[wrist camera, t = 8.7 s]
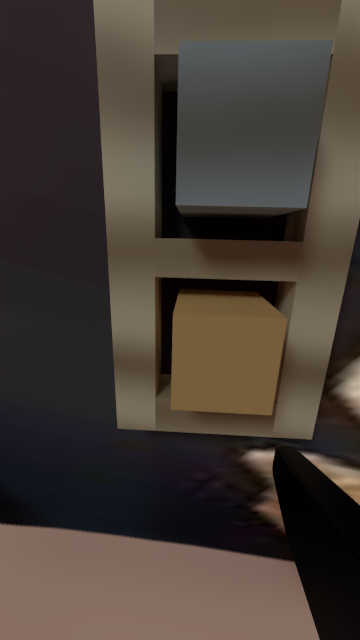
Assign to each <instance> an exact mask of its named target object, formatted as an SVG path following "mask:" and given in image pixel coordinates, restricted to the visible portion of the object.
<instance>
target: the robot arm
mask: <svg viewBox="0 0 360 640" xmlns="http://www.w3.org/2000/svg"><path fill="white" fill-rule="evenodd" d="M272 470H273V477H274V482H275V486H276V491H277V495H278V500H279V504H280V509H281V514H282V518H283V523H284V527H285V531H286V535H287V538H288V542H289V545H290V548H291V551H292V555H293V558H294V561H295V564H296V567H297V570H298V573H299V576H300V579H301V583H302V585H303V588H304V592H305V595H306V598H307V601H308V604H309V607H310V610H311V613H312V616H313V620H314V623H315V626H316V629H317V632H318V635H319V638H320V640H360V505H359V504H358V503H357V502H356V501H354V500H353V499H352V498H351V497H350V496H349V495H348V494H346V493H345V492H344V491H343V490H342V489H341V488H340V487H338V486H337V485H336V484H335V483H334V482H333V481H332V480H331V479H329V478H328V477H327V476H326V475H325V474H324V473H323V472H321V471H320V470H319V469H318V468H317V467H316V466H315V465H314V464H312V463H311V462H310V461H309V460H308V459H307V458H306V457H304V456H303V455H302V454H301V453H300V452H299V451H298V450H296V449H295V448H294V447H293V446H291V445H277V447H276V450H275V456H274V461H273V468H272Z"/></svg>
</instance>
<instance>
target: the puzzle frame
mask: <svg viewBox="0 0 360 640" xmlns="http://www.w3.org/2000/svg"><path fill="white" fill-rule="evenodd" d="M93 1H94V19H95V37H96V54H97V72H98V90H99V107H100V125H101V143H102V161H103V178H104V196H105V214H106V231H107V249H108V267H109V284H110V302H111V320H112V338H113V355H114V373H115V391H116V408H117V426H118V429H135V430H152V431H170V432H188V433H205V434H223V435H241V436H258V437H276V438H294V439H311V440H312V436H313V431H314V426H315V422H316V417H317V413H318V408H319V403H320V399H321V394H322V390H323V385H324V380H325V376H326V371H327V367H328V362H329V357H330V353H331V348H332V344H333V339H334V334H335V330H336V325H337V321H338V316H339V311H340V307H341V302H342V297H343V293H344V288H345V284H346V279H347V274H348V270H349V265H350V261H351V256H352V251H353V247H354V242H355V238H356V233H357V228H358V224H359V219H360V0H93ZM162 92H178V108H177V162H176V207H177V208H178V210H179V212H180V214H181V216H182V217H206V218H250V219H267V218H271V217H274V216H278V215H282V214H286V213H288V214H287V221H286V228H285V235H284V241H257V240H220V239H182V238H162ZM162 277H170V278H201V279H232V280H262V281H278V286H277V293H276V300H275V307H274V308H276V309H277V310H278V311H279V312H280V313H281V314H283V315H284V316H285V317H286V318H287V325H286V331H285V337H284V343H283V349H282V356H281V362H280V368H279V374H278V380H277V386H276V392H275V399H274V405H273V411H272V415H254V414H237V413H220V412H202V411H185V410H171V374H161V278H162Z"/></svg>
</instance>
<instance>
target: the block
mask: <svg viewBox="0 0 360 640" xmlns="http://www.w3.org/2000/svg"><path fill="white" fill-rule="evenodd" d="M286 325H287V318H286V317H285V316H284V315H283V314H281V313H280V312H279V311H278V310H277V309H276V308H274V307H273V306H272V305H271V304H270V303H269V302H268V301H266V300H265V299H264V298H263V297H262V296H261V295H259V294H258V293H257V292H250V291H225V290H200V289H180V290H179V293H178V297H177V301H176V304H175V308H174V312H173V332H172V374H171V410H185V411H202V412H220V413H237V414H254V415H272V411H273V405H274V399H275V392H276V386H277V380H278V374H279V368H280V362H281V356H282V349H283V343H284V337H285V331H286Z"/></svg>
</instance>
